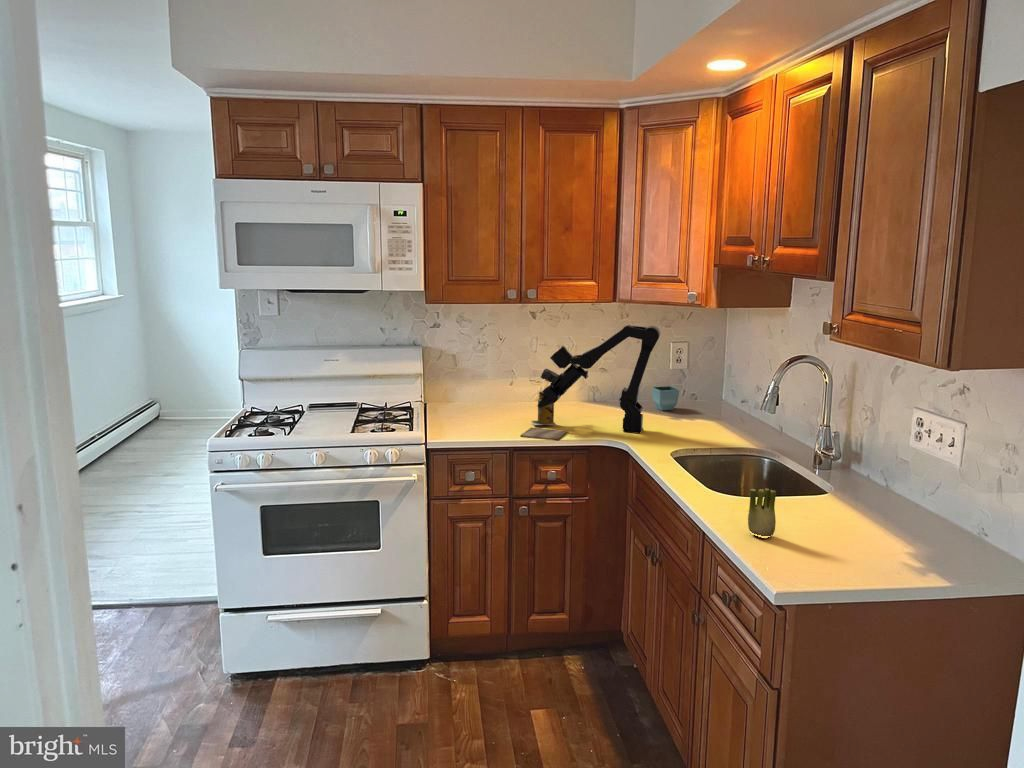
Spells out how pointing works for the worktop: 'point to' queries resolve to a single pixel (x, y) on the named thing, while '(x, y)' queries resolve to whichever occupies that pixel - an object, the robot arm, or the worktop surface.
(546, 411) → the condiment
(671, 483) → the worktop surface
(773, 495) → the fennel bulb
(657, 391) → the flower pot
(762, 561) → the worktop surface
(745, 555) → the worktop surface
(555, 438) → the walnut coaster
